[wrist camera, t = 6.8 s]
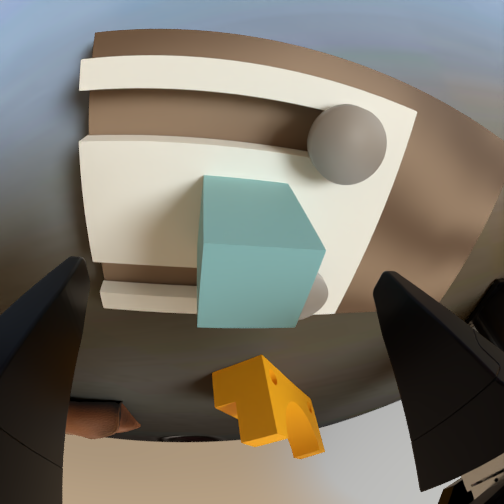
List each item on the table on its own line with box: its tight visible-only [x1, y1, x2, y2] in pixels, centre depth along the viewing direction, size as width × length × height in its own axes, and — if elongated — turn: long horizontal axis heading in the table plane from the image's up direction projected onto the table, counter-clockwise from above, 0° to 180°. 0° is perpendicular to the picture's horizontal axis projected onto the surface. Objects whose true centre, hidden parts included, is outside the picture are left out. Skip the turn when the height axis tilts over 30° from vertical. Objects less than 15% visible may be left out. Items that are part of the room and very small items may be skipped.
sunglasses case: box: [65, 401, 141, 439], centre depth 24 cm, size 18×7×7 cm, turn 90°
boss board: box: [89, 29, 504, 320], centre depth 12 cm, size 13×22×3 cm, turn 80°
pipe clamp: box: [212, 355, 325, 459], centre depth 22 cm, size 12×4×6 cm, turn 28°
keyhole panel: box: [79, 55, 417, 328], centre depth 10 cm, size 11×12×5 cm
